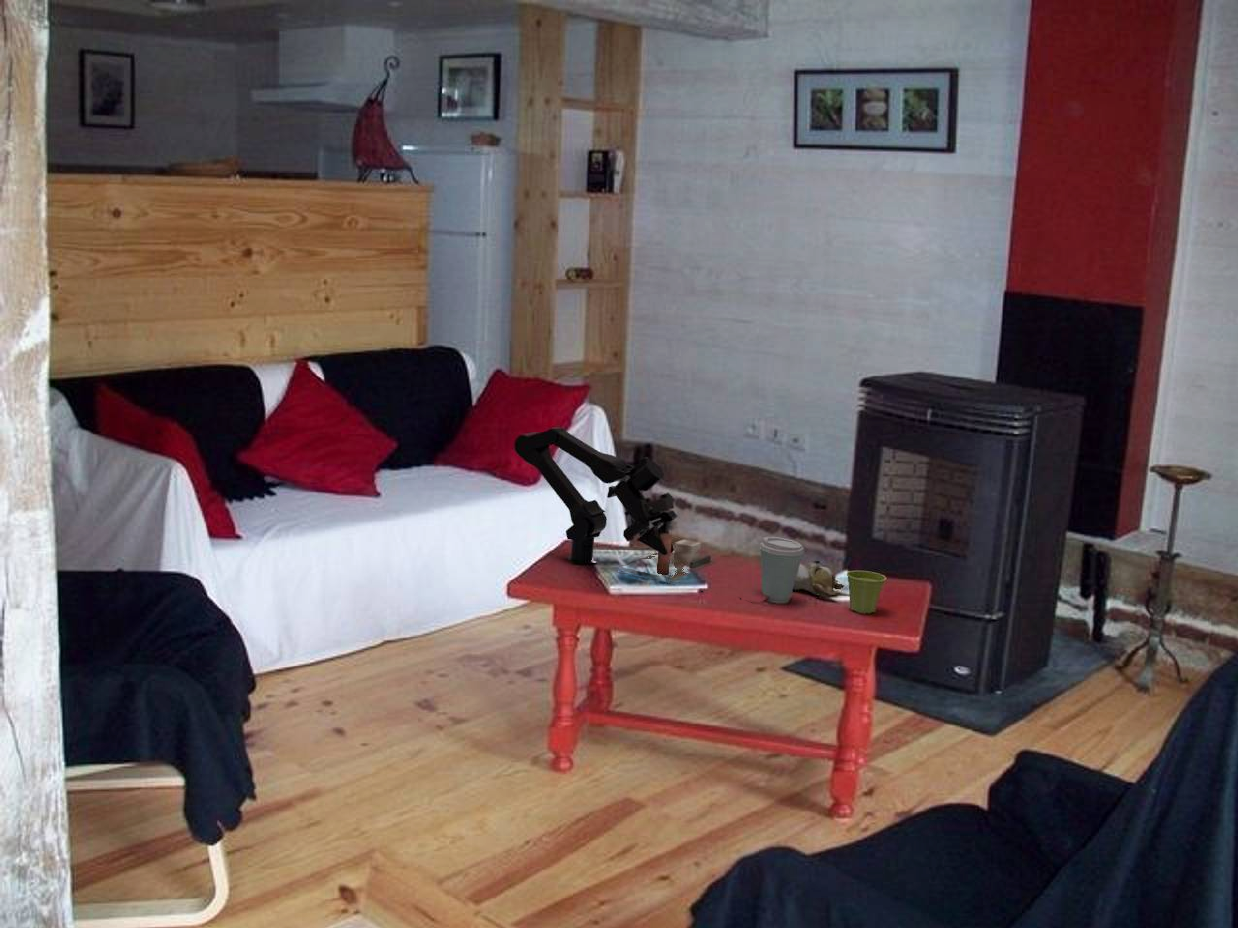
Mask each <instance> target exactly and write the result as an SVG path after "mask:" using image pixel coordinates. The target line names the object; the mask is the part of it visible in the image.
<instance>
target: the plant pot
mask: <svg viewBox="0 0 1238 928" xmlns="http://www.w3.org/2000/svg"><path fill="white" fill-rule="evenodd" d="M846 576H847V581H848V586H849V589H848V590H849V609H850V610H851V611H855V612H856V613H860V614H866V613H868V614H871V613H873V612H874V613H875V612H876V610H877V606H878V602H879V598H880V595H881V592H882V588H883V586H884V584H885V581H886V580H887V577H886V576H885V575H884V574H881V573H878V572H873V571H867V570H851V571H847V572H846Z"/></svg>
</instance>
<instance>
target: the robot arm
mask: <svg viewBox="0 0 1238 928" xmlns="http://www.w3.org/2000/svg"><path fill="white" fill-rule="evenodd" d="M553 445H554V446H556V447H557V448H559V449H560V450H562V451H564V452H565V453H567V454H568V455H569V456H571V457H573V458H574V459H576V460H578V461H579V462H581V463H582V464H584V465H586V466H587V467H588V468H589V469H590V470H591V472H592V474H593V475H594V476H595V478H597V479H599V480H600V481H601V482H602V483H604V484H612V483H616V482H618V483H617V484H616V485H612V486H608V491H607V498H608V499H610V498H614V497H616V498H617V499H618V500H619V502H620V503H621V505H622V506H623V508H624V510H625V512H624V515H625V516H626V517H630V518H631V519H632V521H633V522H632V523H631V524H630V525H629V526H627V527H626V528H625V529H624V530H623V534H622V536H623V538H624V539H625V540H626V542H632V541H633V540H634V539H635V536H636V535H638V536H639V537H637V539H636V541H637V542H640V543H642V544H644V545H646V546H648V547H650V548H652V549H653V550H654V551H656V552H660V553H661V554H663V555H666V554H667V553H668V552H667V550H666V548H665V546H664V544H663V542H662V540H661V539H660V534H661V533H668V534H670V532H669V531H670V530H669V528H670V525H671V524H672V522H673V521H674V520H676V519H677V518H678V515H677V514H676V512H675V511H674V510H672V509H675V506H674V505H675V502H676V499H675V498H673V496H672V495H671V494H670V493H669V492H667V493H663V494H661V495H660V496H659V497H660V499H656V500H653V499H652V498H650V497H646V496H645V495H644V494H643V492H648V491H649V490H650V489H652V488H653V487H654V486H655V485H657V484H658V483H659V482H660V481H661V480H662V479H663V478H664V477H665V474H664V473H665V472H664V471H663V469H662V467H661V466H660V465H658V463H656V462H654V461H653V460H651V459H650V457H648V456H647V457H643V458H642V459H640V462H638V464H636V465H635V466H634V465H630V464H628V463H626V462H627V461H625V460H624V459H622V458H621V457H617V456H614V455H612V454H608V453H603V452H602V451H599V450H597V449H595V448H594V447H592V446H591V445H589V444H587V443H586V442H584V441H582V440H581V439H579V438H578V437H576V436H574V435H573V434H572V433H570V432H568V431H566V429H565V428H563V427H561V426H557V427H552V428H548V430H545V431H541V432H536V431H534V432H530V433H525V434H520V435H518V436H517V437H516V438H515V441H514V447H513V449H514V451H515V454H517V455H518V457H520V458H521V459H522V460H523V461H524V462H525V463H527V464H528V465H531V466H533V467H534V468H535V469H537V471H538V472H539V474H541V476H542V477H543V478H544V480H545V481H546V482H547V484H549V486H550V488H551V489H552V490H553V491H554V493H555V494H556V495H557V497H559V499H560V500H561V502H563V504H564V506H566V508H567V509H568V511H569V516H570V521H571V522H572V524H573V525H571V526H569V527H568V529H566V530H565V535H566V539H567V540H570V541H571V545H570V546H571V547H570V555H566V556H565V558H566V560H568V561H569V562H570V563H572V564H573V565H592V564H591V563H590V562H591V560H592V558H593V557H594V546H595V538H598V537H600V535H601V533H602V531H604V530H605V528H606V527H607V520H608V519H607V516H606V514H605V513H606V511H605V510H604V509H603V508H602V506H600V504H599V503H598V501H597V500H595V499H594V500H590V501H589V500H587V499H585V497H583V495H582V494H581V492H579V490H578V489H577V488H576V486H575V485H574V484H573V483H572V481H571V480H570V479H569V477H568V476H567V475H566V474H565V473H564V472H563V470H562V469H561V468H560V466H559V465H558V464H557V462H556V461H555V459H553V457H552V454H551V448H550V446H551V447H552V446H553ZM626 478H628V479H626ZM624 479H626V480H624ZM642 491H643V492H642ZM674 549H675V547H674V545H673V541H672V542H671V553H672V552H673V553H674ZM593 559H594V558H593Z"/></svg>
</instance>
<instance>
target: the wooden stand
mask: <svg viewBox="0 0 1238 928" xmlns="http://www.w3.org/2000/svg"><path fill="white" fill-rule="evenodd" d="M660 539H661V540H662V542H663V544H664V546H665V548H666V550H667V552H668V553H667V554H666V555H663V554H661V553H660V552H658V551H657V552H658V553H657V552H655V553H652V554H649V555H647V556H644V557H645V558H644V557H642V558H639V559H638V560H640V559H651V558H652V557H655V556H651V555H657V554H658V563H657V573H658V574H662V575H668V574H669V564H670V561H672V564H673V560H674V551H673V552H672V553H671V542H672V543H673V541H672V540H673V534H671V533H669V534H668V533H661V534H660ZM711 556H712V555H710V554H706V555H704V556H700V558H698V559H696V560H693V561H691V562H690V565H687V564H682V563H677V562H674V566H675V568H677V572H676V571H675V572H676V573H677V574H676V573H675V575H674V576H673V575H672V576H673V577H672V576H671V575H670V576H671V577H672V578H671V577H670V576H669V575H668V576H669V577H668V578H667V579H668V580H672V581H676V580H678V579H682V578H683V577H685V576H688V575H689V574H687V573H685V572H682V571H683V570H684V569H683V567H684V566H687V567H689V568H690V569H692V570H693V573H695V572H697V571H700V570H702V569H704V568H706V567H709V566H711V565H713V564H717V561H714V560H711V559H712V558H711ZM648 557H649V558H648ZM682 569H683V570H682ZM684 573H685V574H684Z"/></svg>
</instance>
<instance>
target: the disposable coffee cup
mask: <svg viewBox="0 0 1238 928" xmlns="http://www.w3.org/2000/svg"><path fill="white" fill-rule="evenodd" d="M759 548H760V567H761V569H760V570H761V593H762V595H764V596H767V598H764V601H766V602H769V603H773V604H782V605H783V604H787V603H789V602H790V600H791V598H792V595H793V590H794V589H793V587H794V584H795V580H796V576H797V573H798V569H799V565H800V563H801V561H802V558H803V554H804V553H805V548H804V547H803V545H802V544H801V543H800V542H797V541H796V540H792V539H789V538H784V537H777V536H765V537H763V538H762V541H761V542H760V544H759Z"/></svg>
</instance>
